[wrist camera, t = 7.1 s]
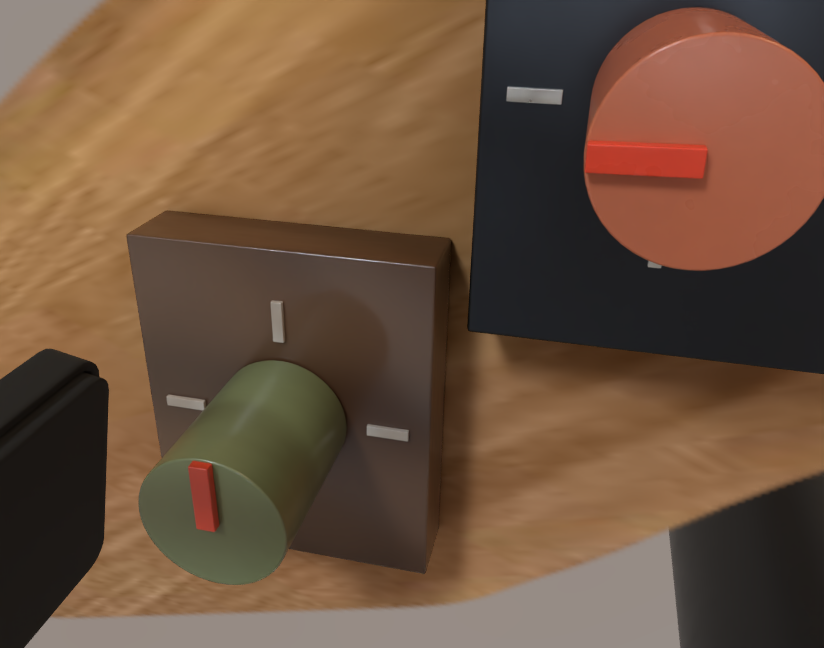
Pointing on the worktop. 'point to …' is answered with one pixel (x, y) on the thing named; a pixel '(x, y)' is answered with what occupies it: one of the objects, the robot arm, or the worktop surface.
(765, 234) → the dial knob
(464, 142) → the worktop surface
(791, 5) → the black dial base plate
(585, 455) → the worktop surface
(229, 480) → the green rotary knob near
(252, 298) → the brown dial base plate
